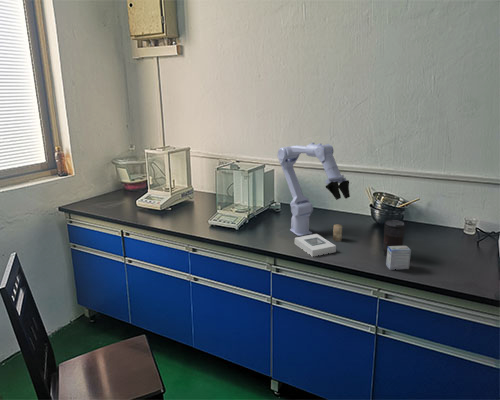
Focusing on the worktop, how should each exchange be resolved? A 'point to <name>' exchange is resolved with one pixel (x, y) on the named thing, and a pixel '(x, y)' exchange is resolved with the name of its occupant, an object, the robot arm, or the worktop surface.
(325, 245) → the socket board
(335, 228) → the peg
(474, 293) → the worktop surface
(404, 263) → the medicine box
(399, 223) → the camera lens
